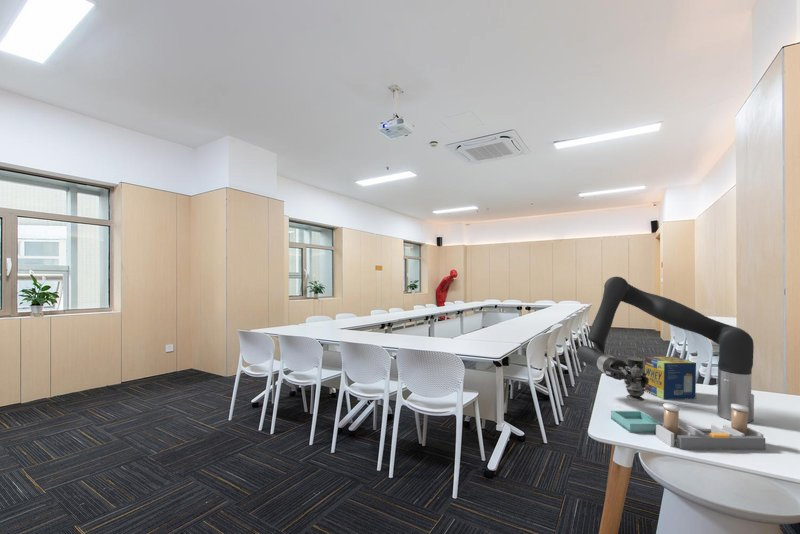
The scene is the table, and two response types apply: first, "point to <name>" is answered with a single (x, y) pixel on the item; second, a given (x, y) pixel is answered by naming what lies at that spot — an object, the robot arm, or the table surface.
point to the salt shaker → (635, 385)
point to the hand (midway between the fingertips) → (641, 380)
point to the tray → (635, 421)
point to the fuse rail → (712, 438)
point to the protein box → (670, 377)
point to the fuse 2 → (739, 418)
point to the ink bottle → (632, 362)
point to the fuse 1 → (671, 418)
